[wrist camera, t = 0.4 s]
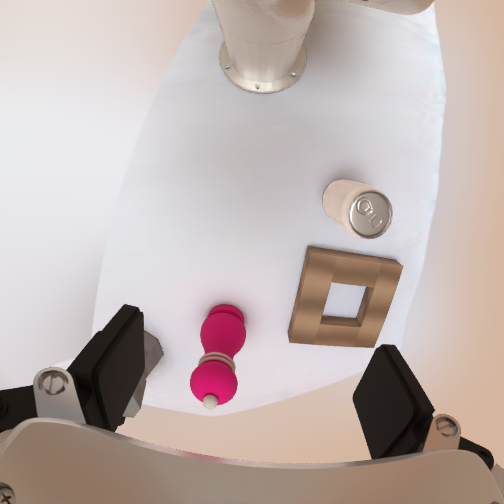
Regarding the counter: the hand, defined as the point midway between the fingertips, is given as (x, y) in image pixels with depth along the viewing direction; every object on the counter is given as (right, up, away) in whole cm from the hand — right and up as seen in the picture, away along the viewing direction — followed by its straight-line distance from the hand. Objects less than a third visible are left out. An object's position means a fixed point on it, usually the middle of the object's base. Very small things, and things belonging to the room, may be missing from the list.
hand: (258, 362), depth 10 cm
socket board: (+15, -4, +36) cm, 39 cm away
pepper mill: (-5, -7, +38) cm, 39 cm away
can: (+13, +12, +31) cm, 36 cm away
